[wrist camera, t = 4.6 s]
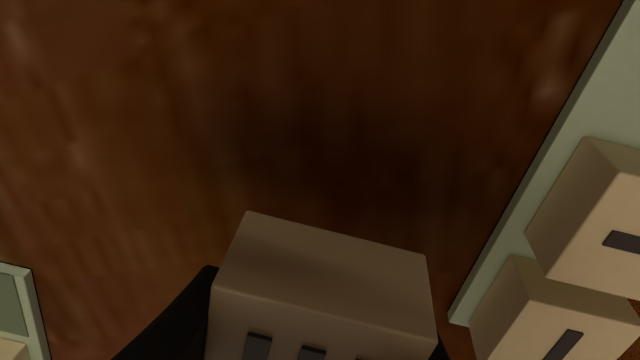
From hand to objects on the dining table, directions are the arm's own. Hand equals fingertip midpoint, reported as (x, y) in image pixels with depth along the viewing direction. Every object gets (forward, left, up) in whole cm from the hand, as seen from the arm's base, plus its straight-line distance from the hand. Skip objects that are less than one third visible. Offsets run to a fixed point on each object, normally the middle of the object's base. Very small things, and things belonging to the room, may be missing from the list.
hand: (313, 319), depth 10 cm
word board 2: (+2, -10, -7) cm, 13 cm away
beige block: (0, 0, -1) cm, 1 cm away
